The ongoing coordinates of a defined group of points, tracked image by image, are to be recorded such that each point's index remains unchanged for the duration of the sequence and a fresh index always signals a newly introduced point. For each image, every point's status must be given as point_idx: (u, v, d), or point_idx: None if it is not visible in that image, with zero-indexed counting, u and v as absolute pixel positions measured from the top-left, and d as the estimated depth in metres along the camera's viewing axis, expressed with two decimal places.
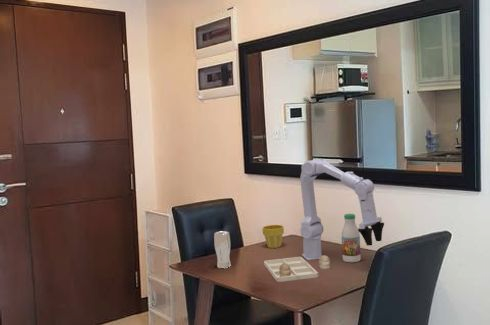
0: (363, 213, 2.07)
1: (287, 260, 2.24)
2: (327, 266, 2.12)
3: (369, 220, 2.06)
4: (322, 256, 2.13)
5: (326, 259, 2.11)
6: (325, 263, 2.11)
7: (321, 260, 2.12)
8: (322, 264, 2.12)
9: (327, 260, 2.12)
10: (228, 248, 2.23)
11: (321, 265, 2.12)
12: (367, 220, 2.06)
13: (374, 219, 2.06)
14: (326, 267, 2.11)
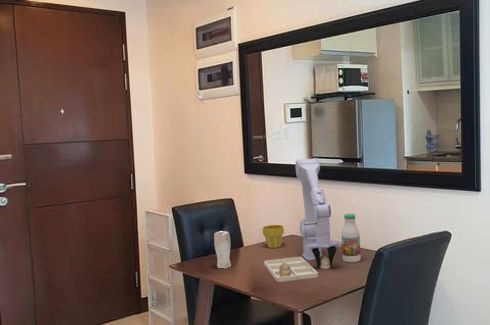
0: (316, 235, 2.13)
1: (287, 260, 2.24)
2: (327, 266, 2.12)
3: (318, 243, 2.11)
4: (322, 256, 2.13)
5: (326, 259, 2.11)
6: (325, 263, 2.11)
7: (321, 260, 2.12)
8: (322, 264, 2.12)
9: (327, 260, 2.12)
10: (228, 248, 2.23)
11: (321, 265, 2.12)
12: (317, 243, 2.12)
13: (323, 244, 2.10)
14: (326, 267, 2.11)
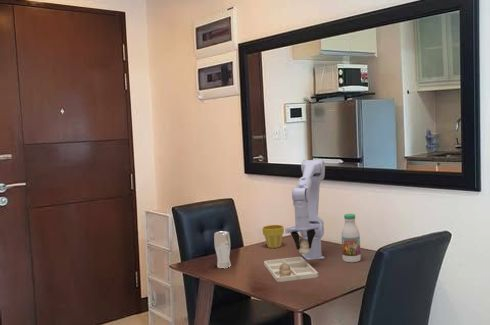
0: (295, 218, 2.14)
1: (287, 260, 2.24)
2: (306, 249, 2.13)
3: (297, 226, 2.13)
4: (301, 239, 2.14)
5: (305, 242, 2.13)
6: (305, 246, 2.13)
7: (300, 243, 2.13)
8: (301, 247, 2.13)
9: (306, 243, 2.13)
10: (228, 248, 2.23)
11: (300, 248, 2.14)
12: (296, 226, 2.13)
13: (302, 227, 2.12)
14: (305, 250, 2.13)
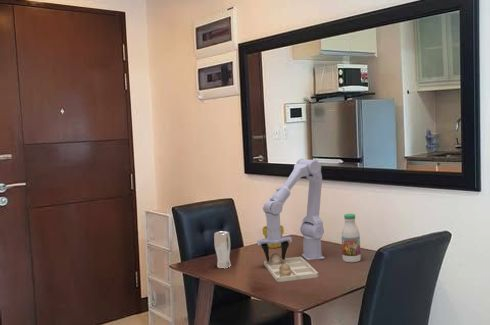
0: (267, 231, 2.18)
1: (287, 260, 2.24)
2: (278, 263, 2.17)
3: (269, 239, 2.17)
4: (273, 254, 2.18)
5: (276, 257, 2.17)
6: (276, 261, 2.17)
7: (272, 258, 2.17)
8: (273, 261, 2.17)
9: (278, 258, 2.17)
10: (228, 248, 2.23)
11: (272, 263, 2.18)
12: (268, 238, 2.17)
13: (273, 239, 2.16)
14: (277, 264, 2.17)
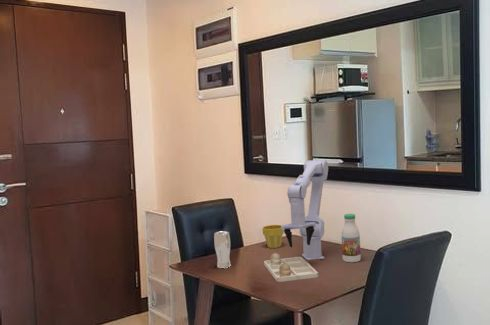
0: (291, 216, 2.16)
1: (287, 260, 2.24)
2: (278, 264, 2.17)
3: (293, 224, 2.14)
4: (273, 254, 2.18)
5: (276, 257, 2.17)
6: (276, 261, 2.17)
7: (272, 258, 2.17)
8: (273, 262, 2.17)
9: (278, 258, 2.17)
10: (228, 248, 2.23)
11: (272, 263, 2.18)
12: (292, 223, 2.15)
13: (297, 224, 2.13)
14: (277, 264, 2.17)
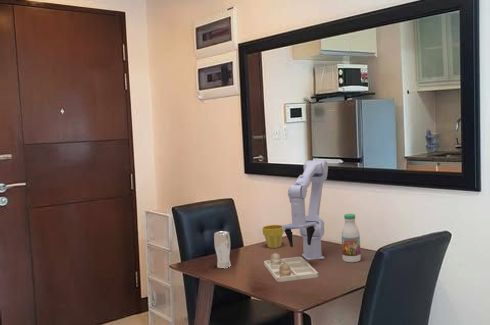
0: None
1: (287, 260, 2.24)
2: (278, 264, 2.17)
3: (293, 224, 2.14)
4: (273, 254, 2.18)
5: (276, 257, 2.17)
6: (276, 261, 2.17)
7: (272, 258, 2.17)
8: (273, 262, 2.17)
9: (278, 258, 2.17)
10: (228, 248, 2.23)
11: (272, 263, 2.18)
12: (292, 223, 2.14)
13: (298, 224, 2.13)
14: (277, 264, 2.17)
